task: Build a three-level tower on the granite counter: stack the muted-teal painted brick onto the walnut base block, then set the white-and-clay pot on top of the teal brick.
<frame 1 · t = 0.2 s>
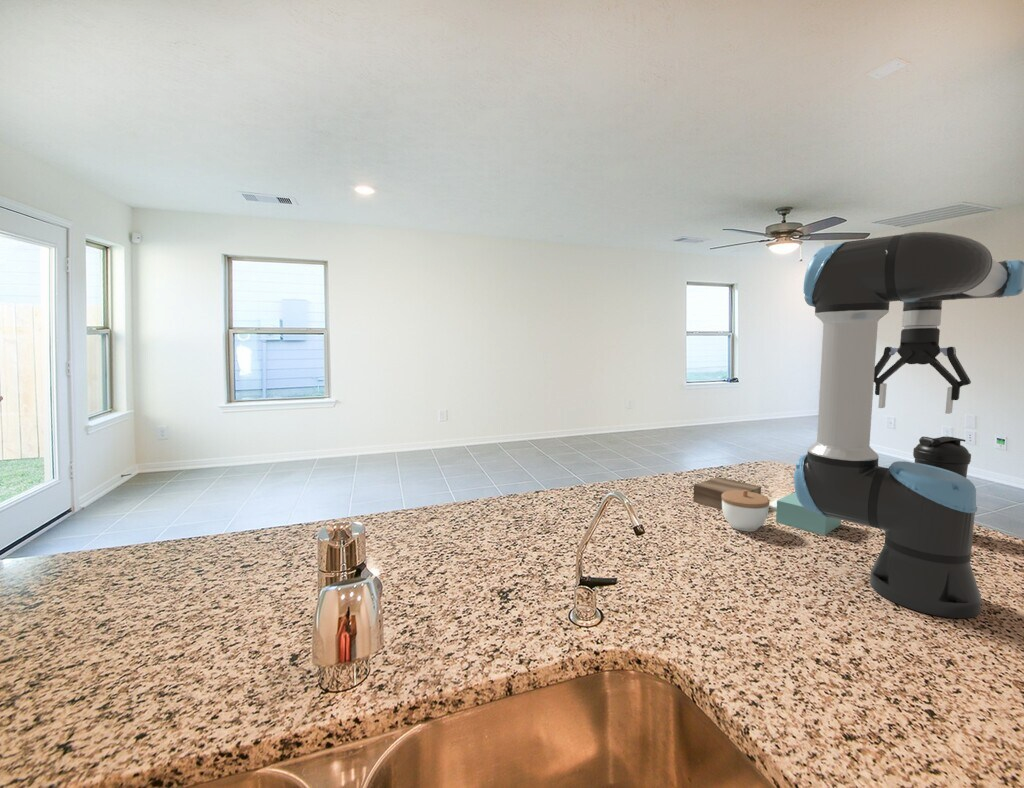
hand: (913, 410, 123), 28 cm above the worktop, fingers open, 13 cm apart
teal brick: (808, 524, 121), on the worktop
lidded jar: (743, 527, 119), on the worktop
instruction page: (817, 508, 131), on the worktop
walnut base: (726, 502, 136), on the worktop
water bottle: (934, 531, 115), on the worktop
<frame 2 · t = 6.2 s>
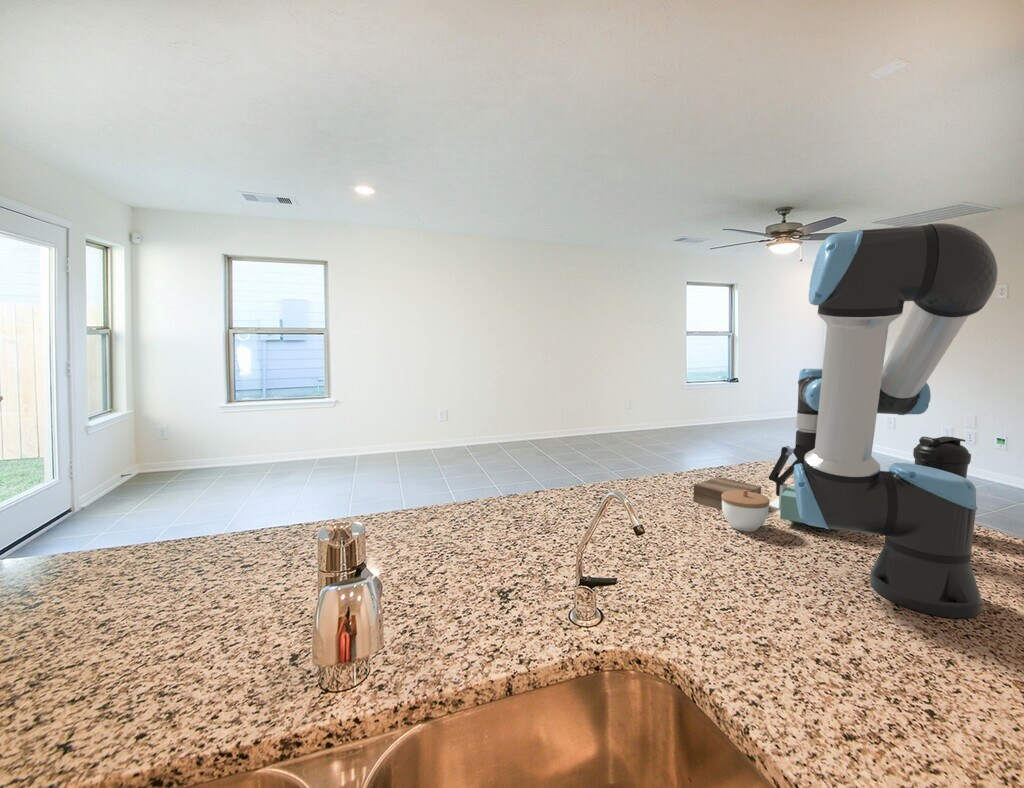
hand: (809, 515, 120), 2 cm above the worktop, fingers closed on teal brick, 12 cm apart
teal brick: (809, 517, 120), point 2 cm above the worktop, touching gripper
everything else where it was.
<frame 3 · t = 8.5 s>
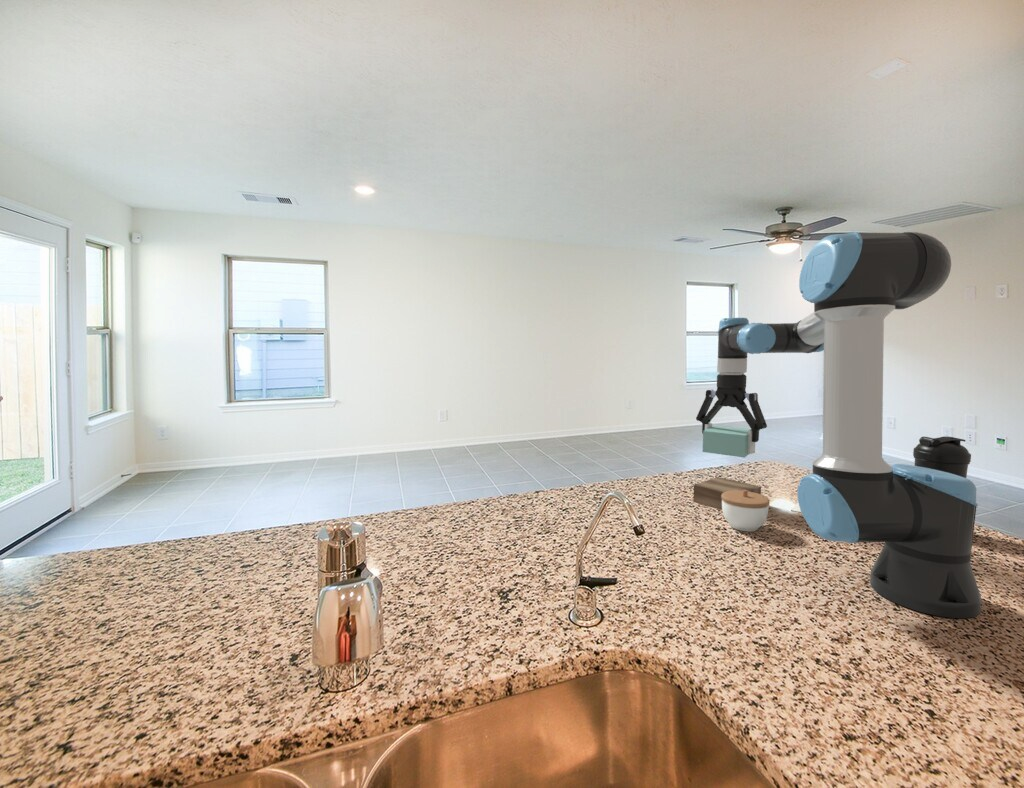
hand: (728, 449, 135), 16 cm above the worktop, fingers closed on teal brick, 12 cm apart
teal brick: (728, 451, 135), point 15 cm above the worktop, touching gripper
everything else where it was.
when the fingers open (6 cm above the worktop, at t = 10.8 s): teal brick stays where it is, resting on walnut base.
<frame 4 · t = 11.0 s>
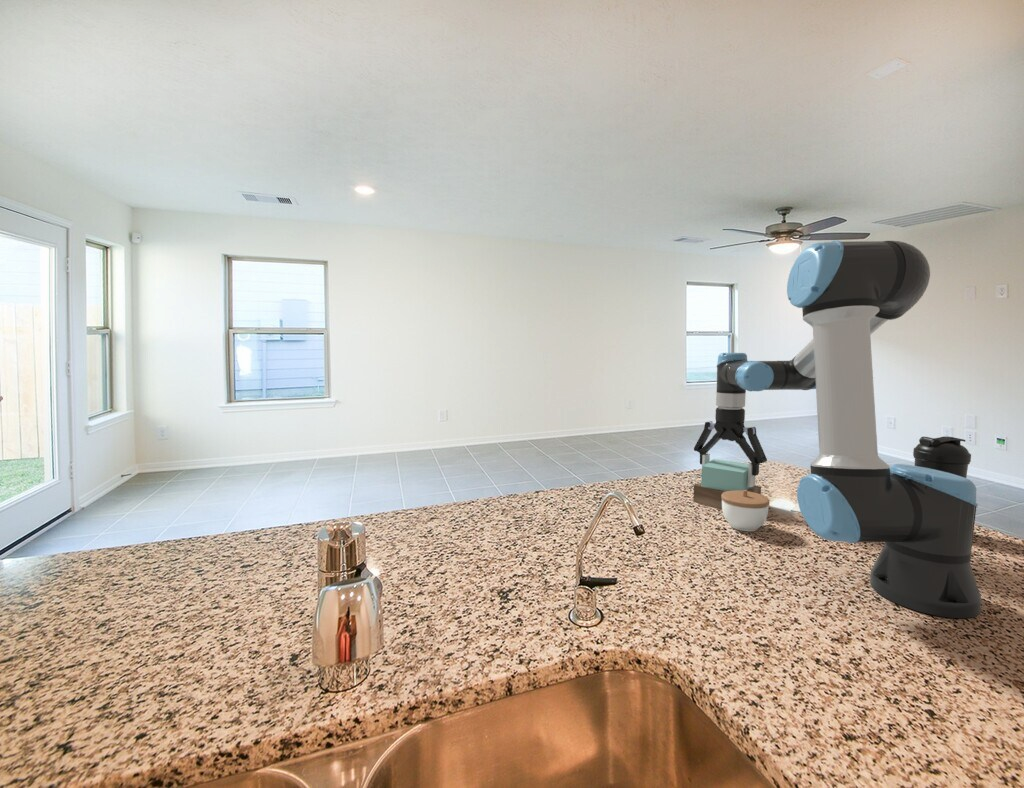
hand: (727, 481, 136), 6 cm above the worktop, fingers open, 13 cm apart
teal brick: (727, 485, 136), point 5 cm above the worktop, touching walnut base
everything else where it was.
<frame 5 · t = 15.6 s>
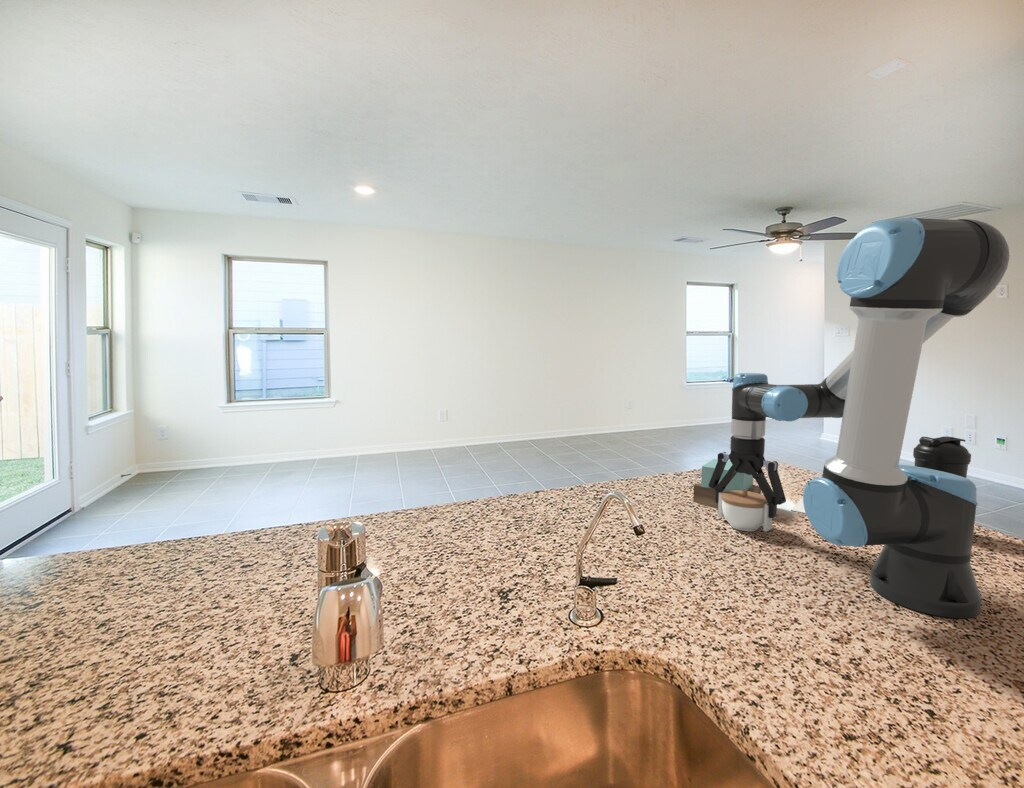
hand: (743, 522, 118), 1 cm above the worktop, fingers closed on lidded jar, 11 cm apart
lidded jar: (743, 527, 119), on the worktop, touching gripper
everything else where it was.
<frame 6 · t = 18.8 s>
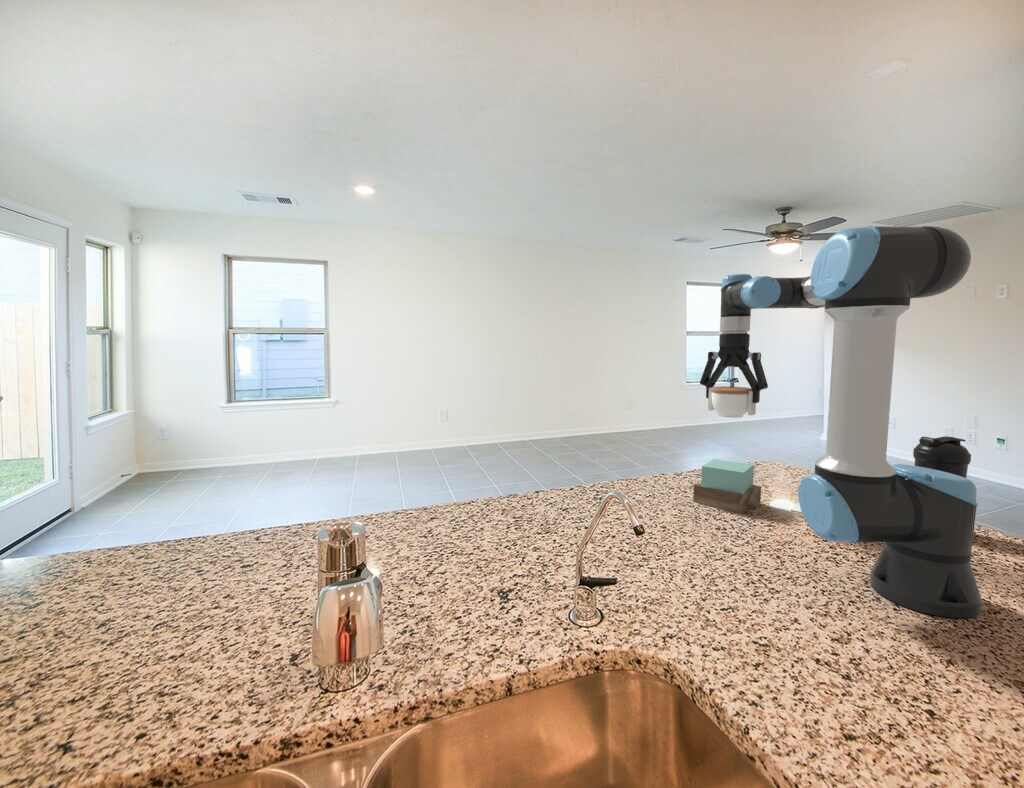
hand: (731, 412, 132), 26 cm above the worktop, fingers closed on lidded jar, 11 cm apart
lidded jar: (730, 416, 132), point 25 cm above the worktop, touching gripper
everything else where it was.
when the fingers open (13 cm above the worktop, at t = 22.0 s): lidded jar stays where it is, resting on teal brick.
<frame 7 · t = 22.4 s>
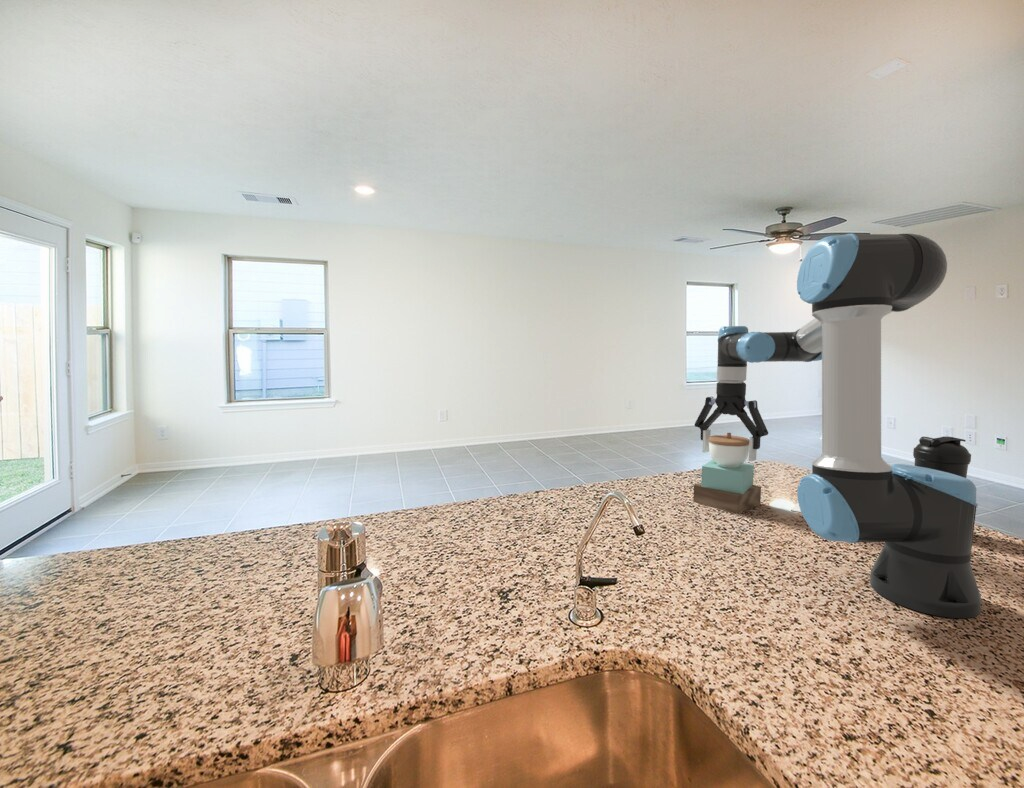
hand: (728, 456, 135), 14 cm above the worktop, fingers open, 13 cm apart
teal brick: (727, 485, 136), point 5 cm above the worktop, touching walnut base, lidded jar
lidded jar: (728, 465, 135), point 11 cm above the worktop, touching teal brick
everything else where it was.
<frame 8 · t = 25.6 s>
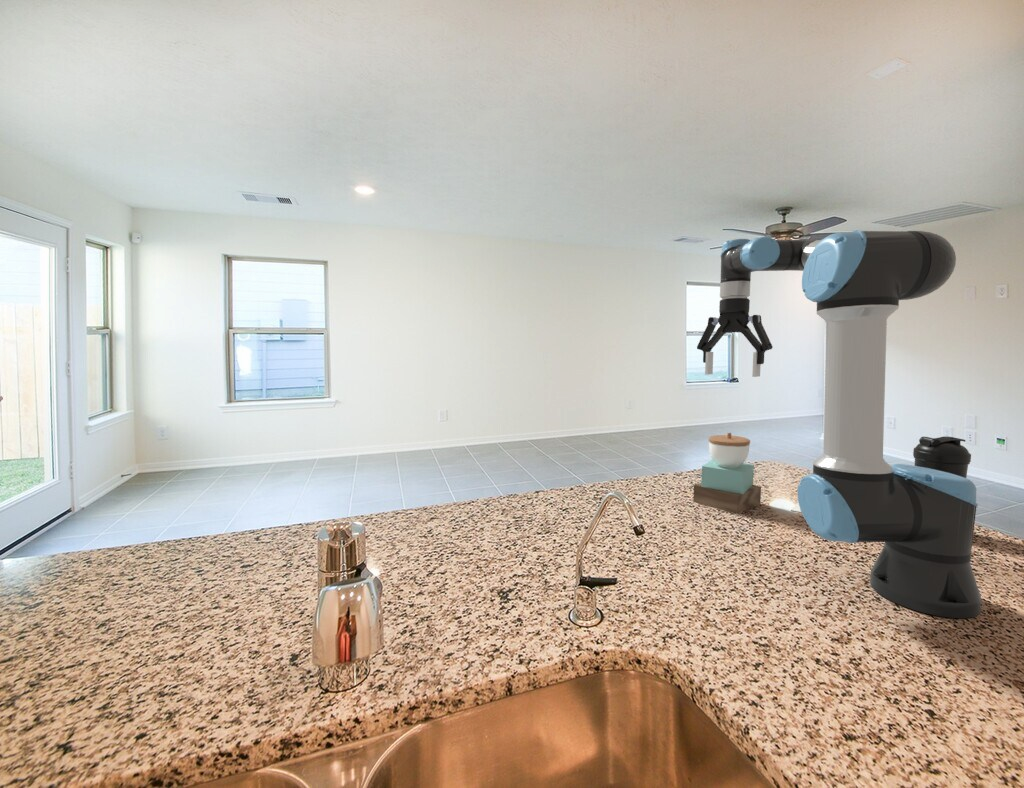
hand: (731, 375, 133), 37 cm above the worktop, fingers open, 13 cm apart
nothing on the worktop moved.
at the end: teal brick inside the target area on the walnut base (0.0 cm from its centre), point 5.0 cm above the walnut base's base; lidded jar inside the target area on the walnut base (0.0 cm from its centre), point 10.8 cm above the walnut base's base; lidded jar tilted 0° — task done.
